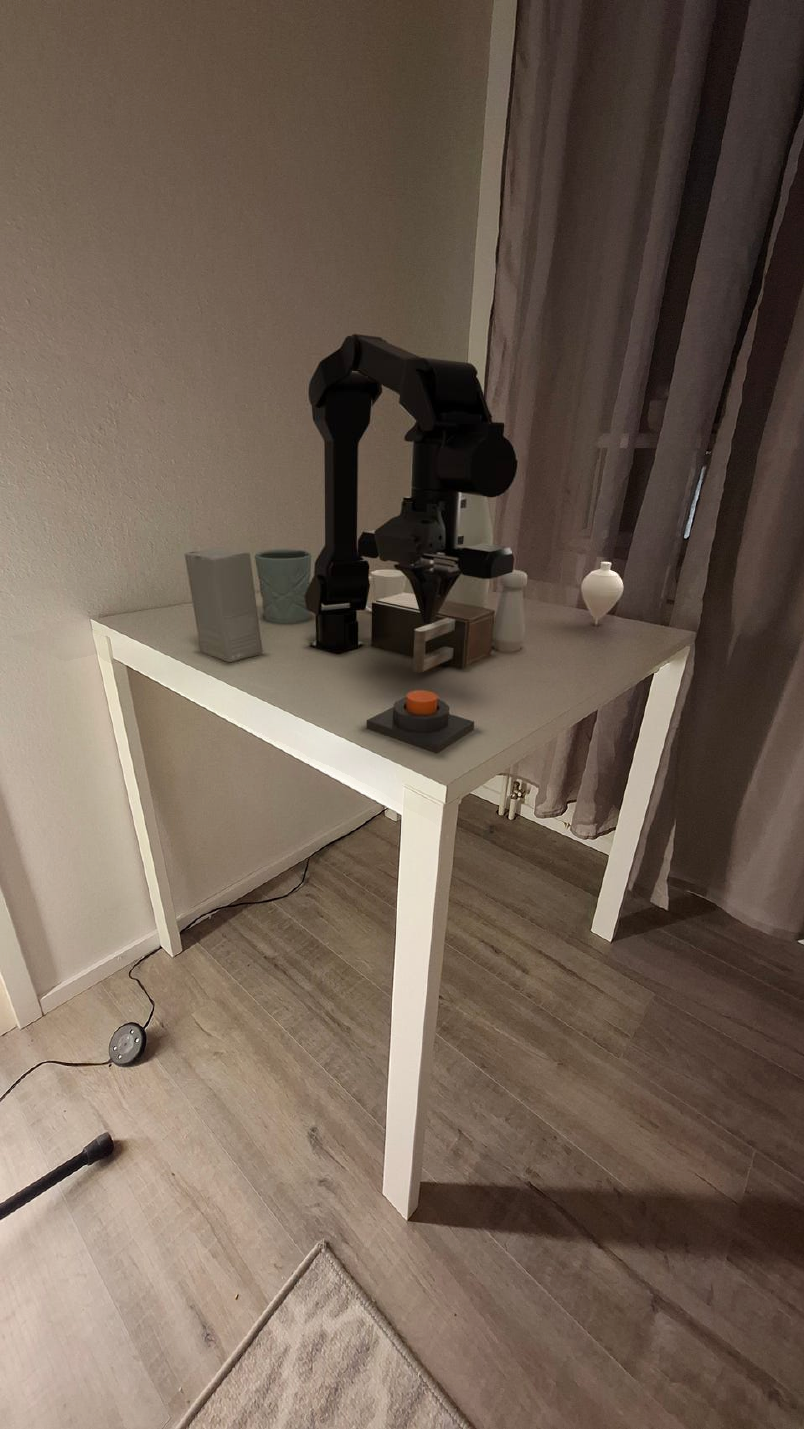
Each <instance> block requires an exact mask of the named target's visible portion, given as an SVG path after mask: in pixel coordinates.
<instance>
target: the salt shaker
mask: <svg viewBox="0 0 804 1429" xmlns="http://www.w3.org/2000/svg"><path fill="white" fill-rule="evenodd" d="M499 577H500V578H499V584H500V585H501V586H502V589H501V592H500V593H501V594H500V598H499V601H498V604H497V608H496V610H495V616H494V626H493V637H492V647H493V649H495V650H496V651H497V652H502V653H516V652H518V651H520V649H521V648H522V645H523V644H524V642H525V639H526V629H525V613H524V612H525V611H524V595H523V594H524V593H523V592H524V591H523V588H526V586H527V583H528V575H527V573H526V572H524V571H522V570H519V569H513V572H512V573H509V574H505V575H502V576H499Z"/></svg>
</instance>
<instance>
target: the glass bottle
mask: <svg viewBox="0 0 804 1429" xmlns="http://www.w3.org/2000/svg"><path fill="white" fill-rule="evenodd" d="M461 498H467V504H466V508H460V517H459V530H458V535H464V542H463V544H462V545H457V547H459V548H463V547H468V546H473V545H478V544H482V543H485V544H492V545H494V544H493V542H494V540H493V539H494V533H493V525H492V520H491V516H490V510H489V500H488V499H489V497H484V496H478V495H472V494H467V493H461ZM437 553H440V552H437ZM442 554H445V553H442ZM489 583H490V579H481V578H476V577H471V576H465V575H463V574H461V575H460V576H459V578H458V579H457V581H456V582H455V584H454V585H453V587H452V588H451V590H450V591H449V593H448V595H447V597H446V599H445V600H446V601H451V602H456V603H461V604H466V605H471V606H477V607H482V608H486V604H487V601H488V595H489V594H488V593H489V585H490V584H489Z"/></svg>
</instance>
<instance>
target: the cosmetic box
mask: <svg viewBox="0 0 804 1429" xmlns="http://www.w3.org/2000/svg"><path fill="white" fill-rule="evenodd" d="M184 559H185V565H186V571H187V576H188V583H189V589H190V595H191V601H192V607H193V614H194V619H195V626H196V631H197V637H198V643H199V649H200V650H199V651H200V652H201V653H204V654H206V655H209V656H211V657H213V658H216V659H219V660H222V661H224V662H227V663H232V662H237V661H240V660H243V659H246V658H251V657H256V656H261V655H263V645H262V638H261V630H260V622H259V616H258V607H257V606H258V605H257V599H256V598H257V597H256V592H255V591H256V590H255V584H254V582H255V581H254V576H253V569H252V568H253V567H252V559H251V553H250V552H249V551H241V550H235V549H230V548H224V547H215V548H210V549H202V550H196V551H195V550H194V551H189V552H185V553H184Z"/></svg>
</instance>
